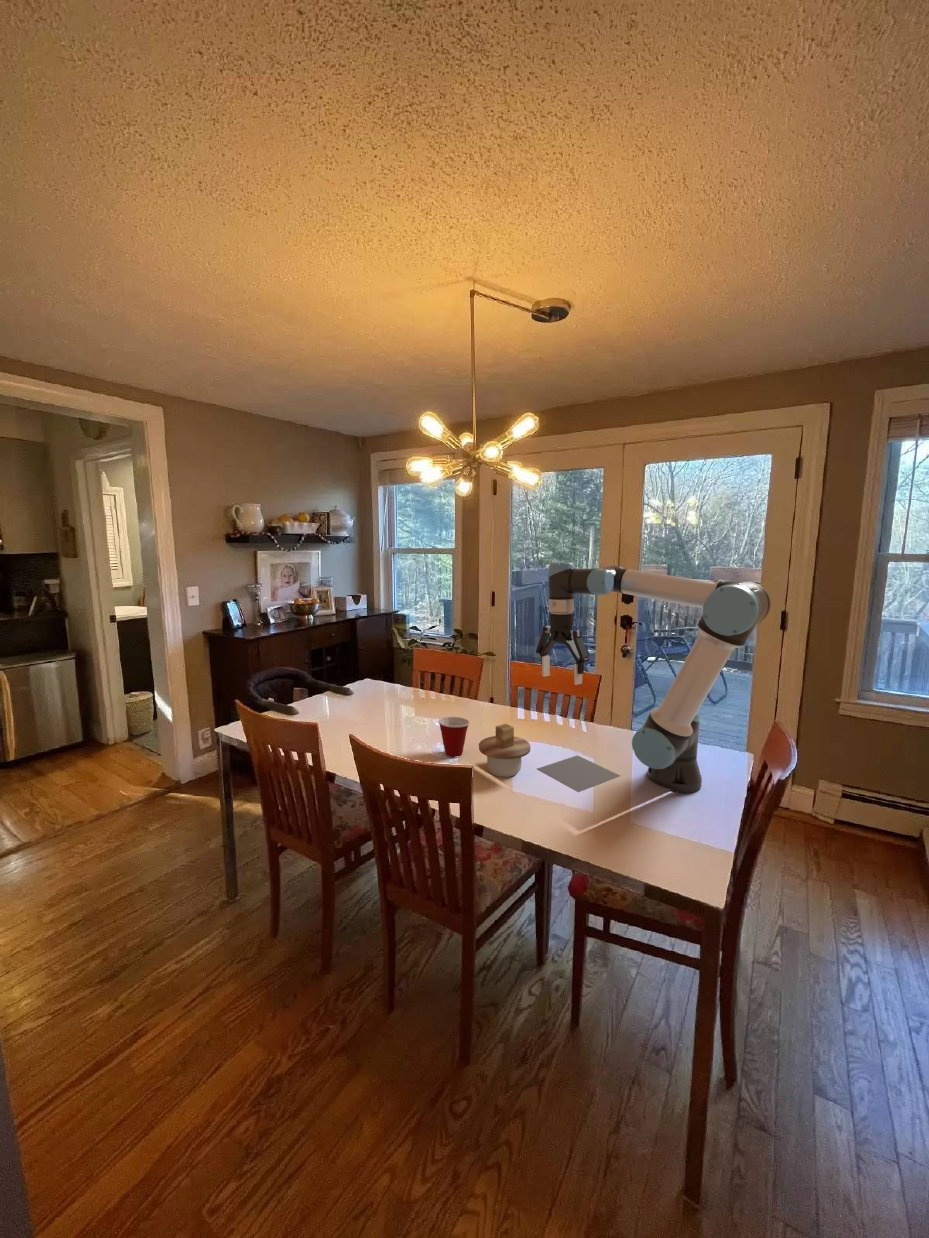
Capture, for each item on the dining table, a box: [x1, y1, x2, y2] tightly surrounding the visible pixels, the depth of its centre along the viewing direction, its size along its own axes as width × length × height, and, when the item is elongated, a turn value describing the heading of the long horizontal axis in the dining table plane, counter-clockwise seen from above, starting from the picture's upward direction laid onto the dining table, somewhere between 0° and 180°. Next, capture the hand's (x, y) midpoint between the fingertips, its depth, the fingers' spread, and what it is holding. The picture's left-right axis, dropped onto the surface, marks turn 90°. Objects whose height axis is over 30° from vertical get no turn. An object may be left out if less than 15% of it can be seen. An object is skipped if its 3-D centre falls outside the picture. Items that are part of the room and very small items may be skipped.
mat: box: [536, 755, 621, 793], centre depth 159 cm, size 18×18×1 cm
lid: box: [478, 723, 531, 759], centre depth 160 cm, size 16×16×7 cm
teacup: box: [486, 756, 522, 778], centre depth 162 cm, size 14×11×8 cm
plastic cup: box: [437, 716, 471, 758], centre depth 175 cm, size 11×11×12 cm
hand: (561, 679), depth 161 cm, fingers open, 13 cm apart
